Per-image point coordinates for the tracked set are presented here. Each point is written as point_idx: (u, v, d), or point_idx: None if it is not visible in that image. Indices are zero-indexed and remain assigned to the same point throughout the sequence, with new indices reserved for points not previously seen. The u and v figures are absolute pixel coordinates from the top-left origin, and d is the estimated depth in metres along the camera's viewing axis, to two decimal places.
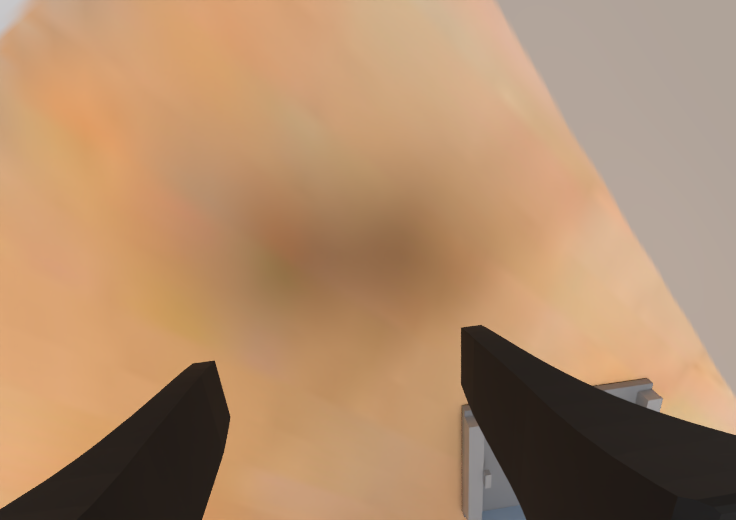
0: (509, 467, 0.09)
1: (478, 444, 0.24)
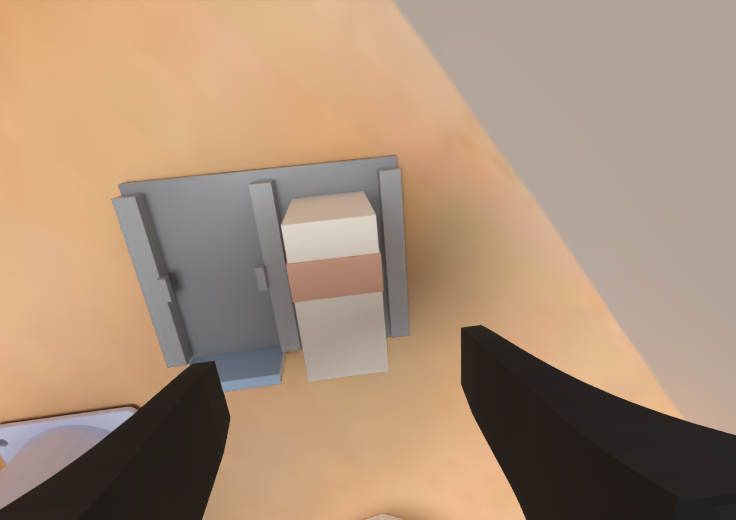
0: (509, 467, 0.09)
1: (136, 230, 0.17)
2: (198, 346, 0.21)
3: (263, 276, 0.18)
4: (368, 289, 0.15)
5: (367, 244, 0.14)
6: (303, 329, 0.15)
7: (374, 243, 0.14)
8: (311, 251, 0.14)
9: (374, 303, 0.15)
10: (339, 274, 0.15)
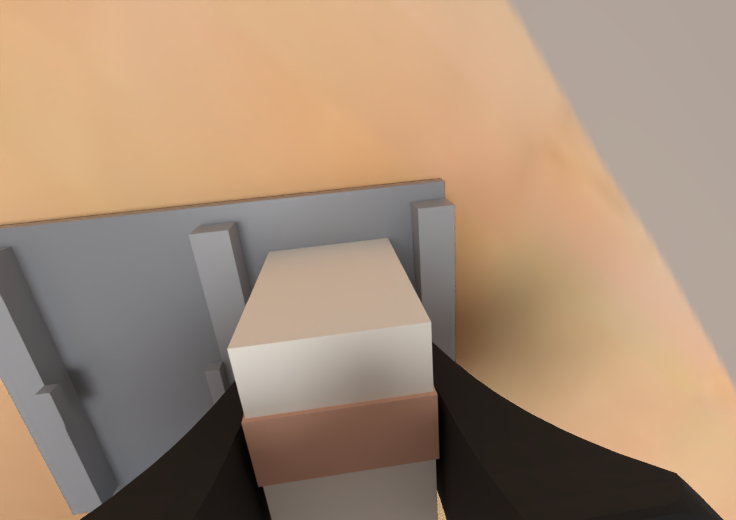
0: (437, 478, 0.09)
1: None
2: (126, 473, 0.13)
3: (220, 383, 0.11)
4: (409, 456, 0.08)
5: (410, 377, 0.07)
6: None
7: (425, 375, 0.07)
8: (294, 394, 0.07)
9: (419, 476, 0.08)
10: (352, 433, 0.07)
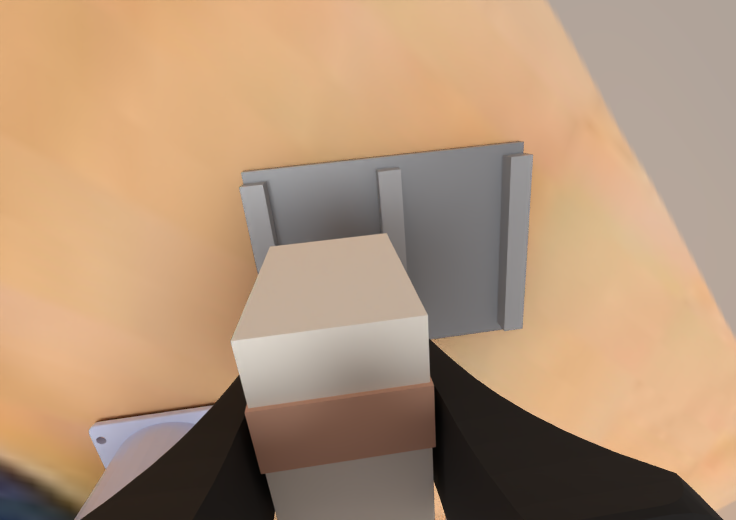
0: (437, 478, 0.09)
1: (260, 220, 0.17)
2: None
3: None
4: (406, 445, 0.08)
5: (408, 368, 0.07)
6: (283, 510, 0.08)
7: (421, 367, 0.07)
8: (295, 385, 0.07)
9: (416, 463, 0.08)
10: (352, 423, 0.08)
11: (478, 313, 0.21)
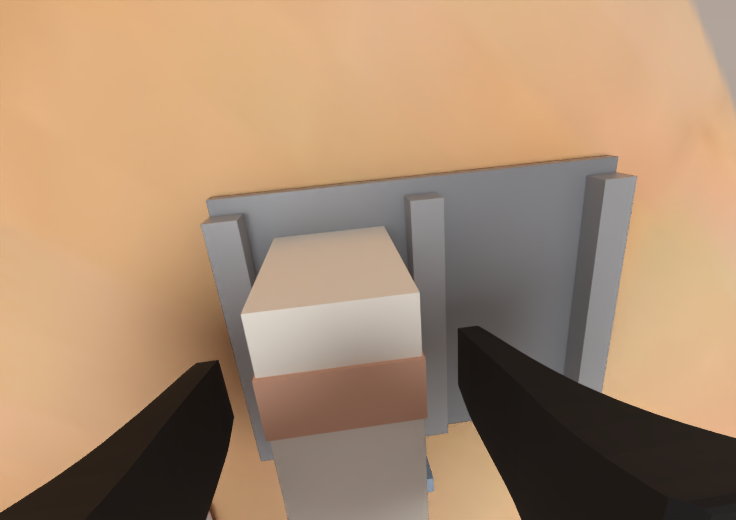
0: (505, 468, 0.09)
1: (234, 271, 0.11)
2: None
3: None
4: (400, 415, 0.08)
5: (401, 342, 0.08)
6: (286, 478, 0.09)
7: (414, 341, 0.08)
8: (299, 357, 0.08)
9: (409, 435, 0.09)
10: (350, 393, 0.08)
11: None
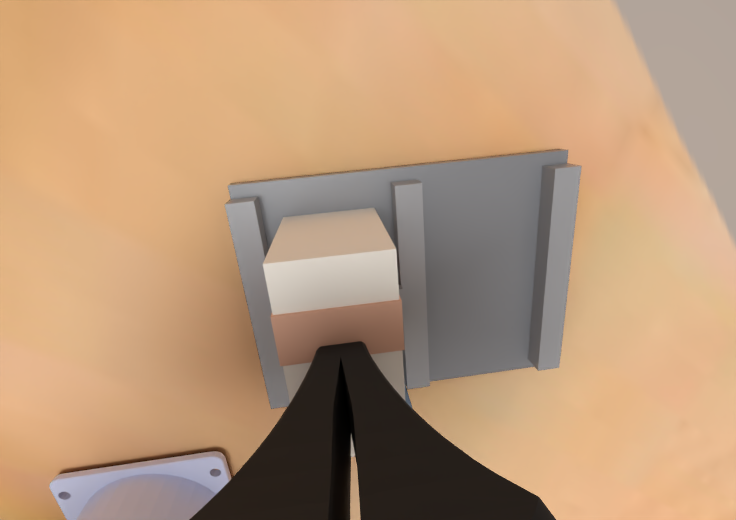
0: None
1: (251, 243, 0.14)
2: None
3: (402, 299, 0.15)
4: (383, 347, 0.11)
5: (383, 288, 0.10)
6: None
7: (393, 287, 0.10)
8: (305, 298, 0.10)
9: (391, 364, 0.11)
10: (344, 329, 0.11)
11: (506, 348, 0.18)
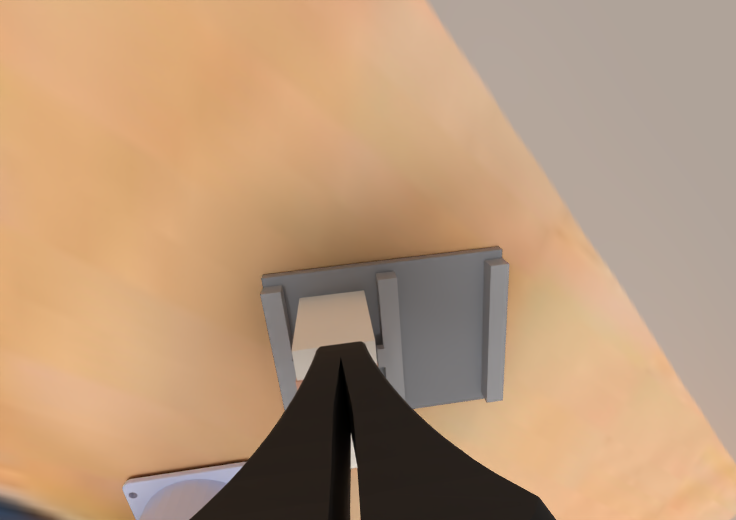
0: None
1: (277, 319, 0.20)
2: None
3: (383, 355, 0.21)
4: None
5: None
6: None
7: None
8: None
9: None
10: None
11: (464, 385, 0.24)
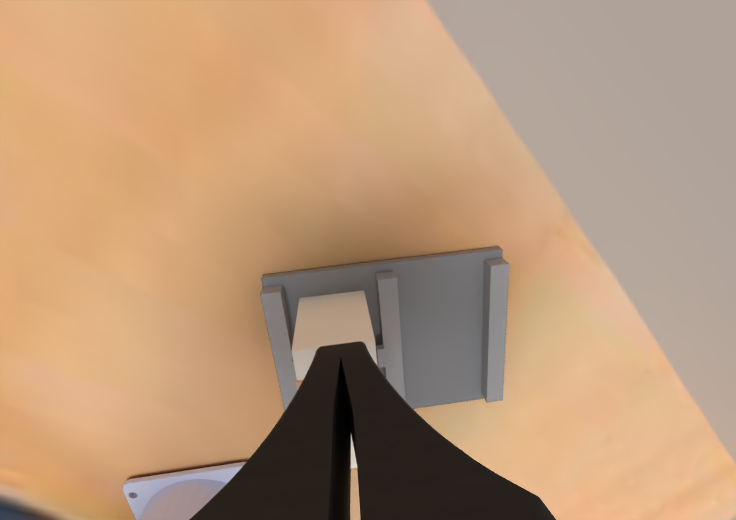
0: None
1: (277, 319, 0.20)
2: None
3: (383, 355, 0.21)
4: None
5: None
6: None
7: None
8: None
9: None
10: None
11: (464, 385, 0.24)
